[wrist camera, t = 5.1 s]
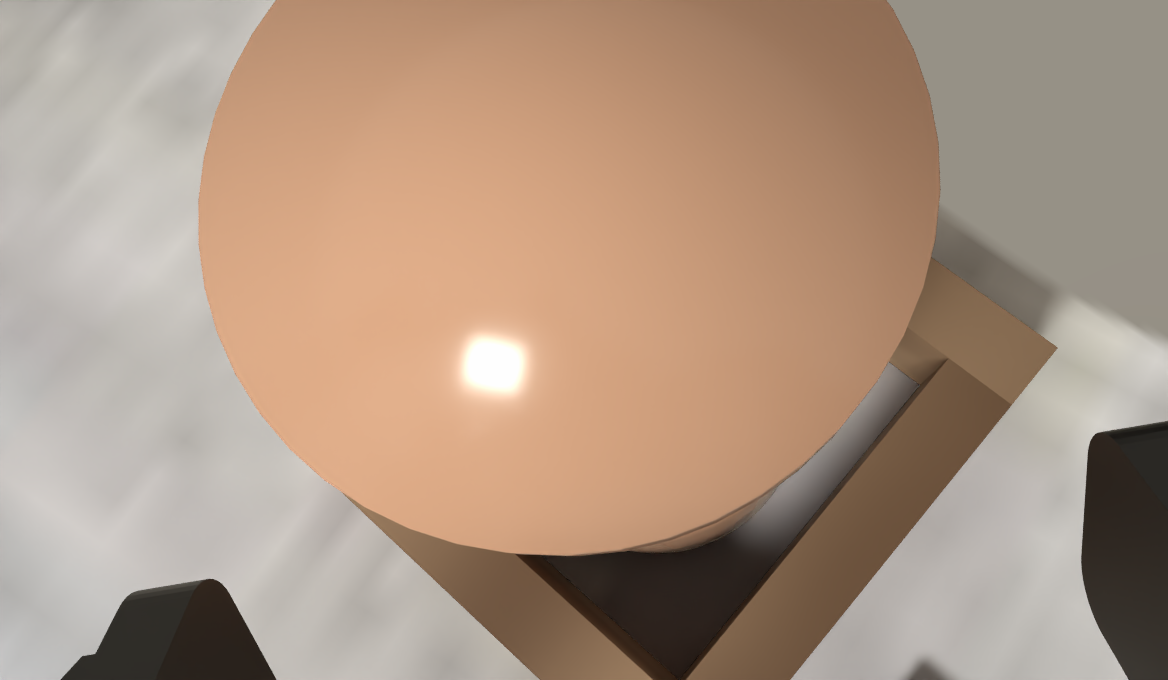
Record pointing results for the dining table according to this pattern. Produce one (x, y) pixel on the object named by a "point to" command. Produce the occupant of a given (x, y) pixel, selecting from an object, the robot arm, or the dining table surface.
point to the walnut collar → (819, 552)
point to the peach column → (567, 252)
